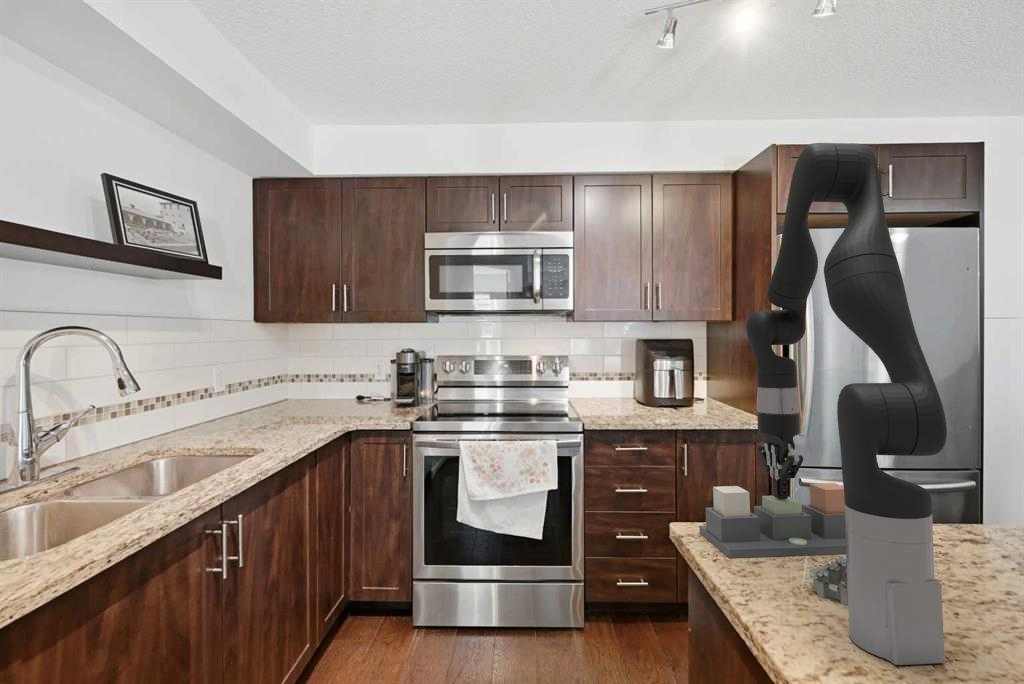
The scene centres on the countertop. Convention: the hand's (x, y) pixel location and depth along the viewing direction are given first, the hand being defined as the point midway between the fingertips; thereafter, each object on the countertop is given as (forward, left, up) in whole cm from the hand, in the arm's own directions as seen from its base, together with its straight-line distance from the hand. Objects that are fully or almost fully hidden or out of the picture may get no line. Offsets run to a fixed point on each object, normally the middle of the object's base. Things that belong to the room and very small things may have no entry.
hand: (780, 497), depth 106 cm
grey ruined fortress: (-22, +2, -9) cm, 24 cm away
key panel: (0, 0, -8) cm, 9 cm away
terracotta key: (0, -10, -4) cm, 11 cm away
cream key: (0, +10, -4) cm, 11 cm away
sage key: (0, 0, -6) cm, 6 cm away
